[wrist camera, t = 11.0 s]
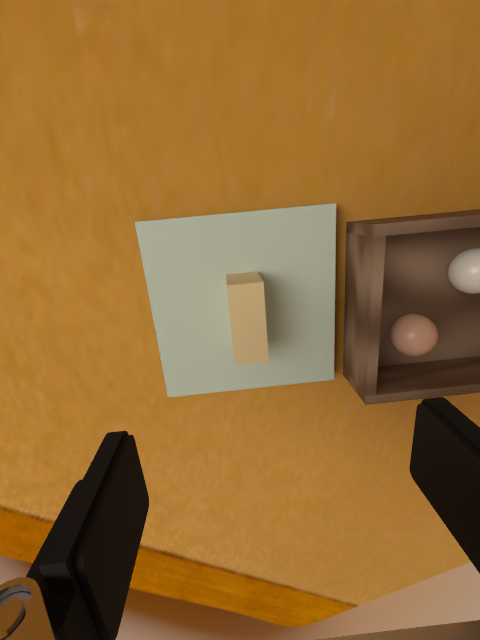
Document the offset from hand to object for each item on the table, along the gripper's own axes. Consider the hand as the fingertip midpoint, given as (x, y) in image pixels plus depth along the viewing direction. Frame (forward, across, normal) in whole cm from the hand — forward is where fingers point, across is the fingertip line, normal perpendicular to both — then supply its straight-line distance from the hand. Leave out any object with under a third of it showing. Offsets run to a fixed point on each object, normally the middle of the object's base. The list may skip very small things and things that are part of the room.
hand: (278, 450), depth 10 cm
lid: (+17, 0, 0) cm, 17 cm away
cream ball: (+17, -18, -1) cm, 25 cm away
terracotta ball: (+17, -14, +4) cm, 23 cm away
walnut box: (+18, -16, +1) cm, 24 cm away
